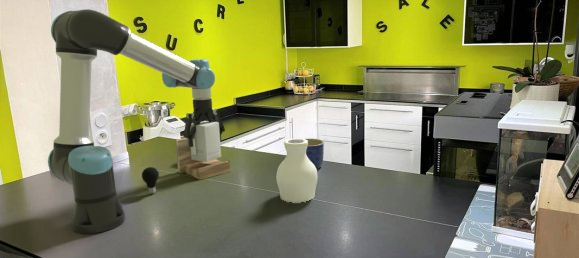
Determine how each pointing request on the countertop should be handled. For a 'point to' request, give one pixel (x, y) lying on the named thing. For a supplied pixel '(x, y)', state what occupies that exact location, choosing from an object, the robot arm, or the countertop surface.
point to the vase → (296, 173)
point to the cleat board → (198, 163)
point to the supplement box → (207, 141)
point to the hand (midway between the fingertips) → (206, 151)
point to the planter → (315, 151)
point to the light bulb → (150, 178)
